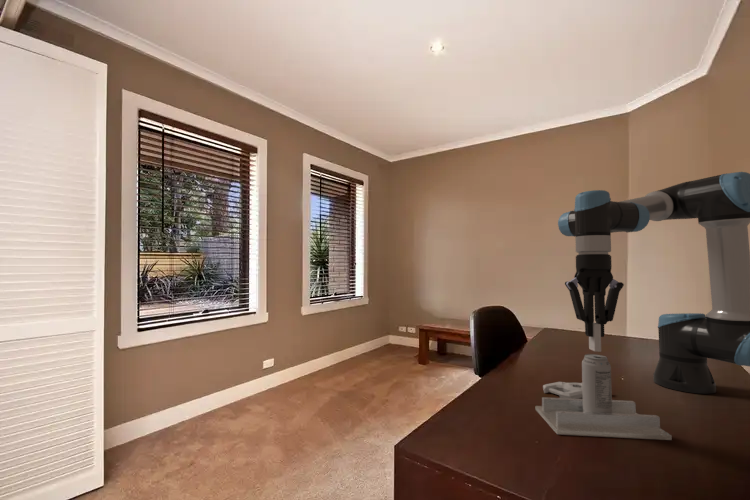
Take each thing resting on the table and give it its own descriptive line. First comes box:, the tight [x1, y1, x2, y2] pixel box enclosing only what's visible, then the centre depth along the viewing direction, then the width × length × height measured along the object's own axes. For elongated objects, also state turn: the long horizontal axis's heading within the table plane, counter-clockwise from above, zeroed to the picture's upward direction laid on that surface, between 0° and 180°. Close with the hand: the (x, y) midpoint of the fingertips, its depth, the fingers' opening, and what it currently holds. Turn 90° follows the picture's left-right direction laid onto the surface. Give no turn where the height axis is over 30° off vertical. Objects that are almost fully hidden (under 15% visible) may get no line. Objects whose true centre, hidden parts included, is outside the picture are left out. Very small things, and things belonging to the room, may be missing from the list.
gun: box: [542, 381, 583, 399], centre depth 107 cm, size 18×4×10 cm
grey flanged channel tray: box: [535, 396, 673, 441], centre depth 86 cm, size 24×14×4 cm, turn 84°
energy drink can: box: [581, 353, 613, 413], centre depth 86 cm, size 6×6×15 cm
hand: (595, 350), depth 87 cm, fingers closed
